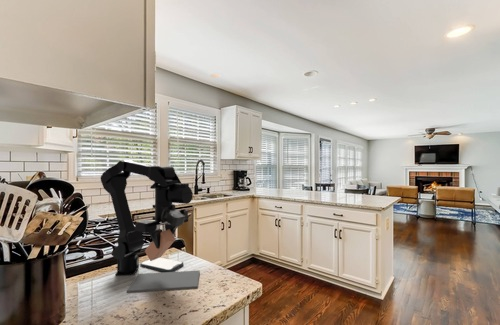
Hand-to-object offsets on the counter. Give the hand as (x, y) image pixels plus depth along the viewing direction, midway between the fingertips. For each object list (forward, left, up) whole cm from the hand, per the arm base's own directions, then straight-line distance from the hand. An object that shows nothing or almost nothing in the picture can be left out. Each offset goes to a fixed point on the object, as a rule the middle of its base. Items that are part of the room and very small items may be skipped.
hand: (163, 246), depth 87 cm
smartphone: (-3, +13, -13) cm, 19 cm away
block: (-4, +4, -4) cm, 7 cm away
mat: (+1, -1, -12) cm, 12 cm away
